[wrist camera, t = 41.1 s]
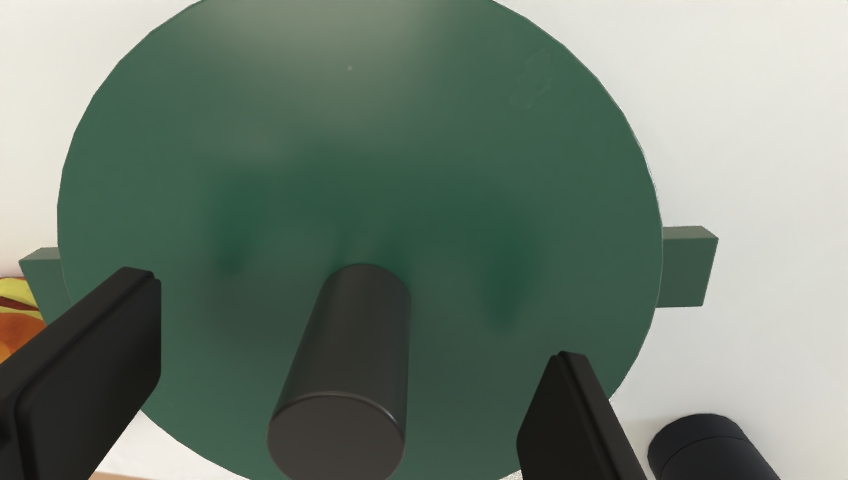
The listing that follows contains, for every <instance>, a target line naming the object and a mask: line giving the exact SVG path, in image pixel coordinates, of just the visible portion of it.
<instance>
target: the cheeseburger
mask: <svg viewBox="0 0 848 480" xmlns="http://www.w3.org/2000/svg"><path fill="white" fill-rule="evenodd" d="M46 327H47V326H46V325H45V323H44V320H43V318H42V316H41V313H40V311H39V309H38V306H37V304H36V302H35V300H34V297H33V295H32V293H31V290H30V288H29V286H28V283H27V281H26V279H25V278H0V364H1V363H2V362H3V361H4V360H6V359H7V358H8V357H9V356H11V355H12V354H13V353H14V352H16V351H17V350H18V349H19V348H21V347H22V346H23V345H24V344H26V343H27V342H28V341H29V340H31V339H32V338H33V337H34V336H36V335H37V334H38V333H39V332H41V331H42V330H43V329H44V328H46Z"/></svg>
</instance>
